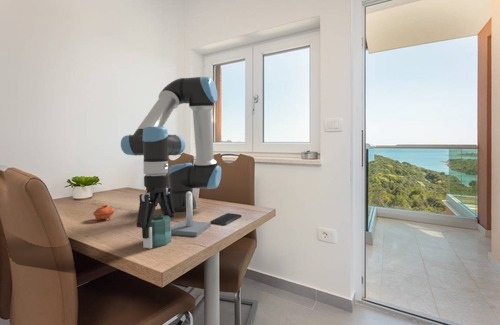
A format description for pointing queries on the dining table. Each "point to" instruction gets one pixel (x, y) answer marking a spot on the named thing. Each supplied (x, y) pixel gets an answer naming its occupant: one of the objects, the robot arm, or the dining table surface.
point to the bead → (160, 230)
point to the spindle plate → (190, 230)
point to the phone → (225, 219)
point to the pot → (103, 212)
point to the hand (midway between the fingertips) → (158, 241)
